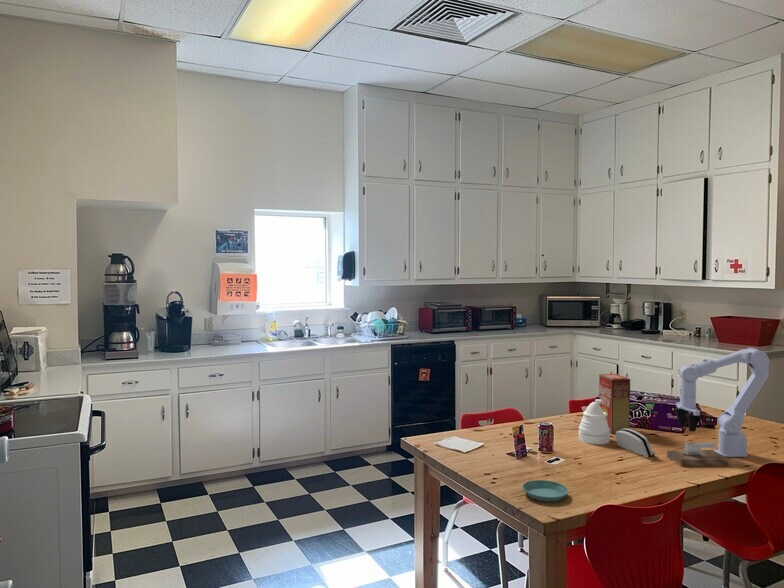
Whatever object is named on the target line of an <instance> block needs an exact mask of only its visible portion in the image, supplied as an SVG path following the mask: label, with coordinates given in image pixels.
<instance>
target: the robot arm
mask: <svg viewBox="0 0 784 588" xmlns="http://www.w3.org/2000/svg"><path fill="white" fill-rule="evenodd" d="M736 363H742V364H747V365H748V367H749V369H750V372H751V375H750V376H749V378H748V379H747V381H746V382H745V384H744V385H743V387H742V389H741V390H740V392H739V394H738V395H737V396H736V398H735V400H734V401H733V403H732V405H730V407H728V408H726V409H725V411H724V412H723V413H721V414H719V416H718V417H717V423H718V425H719V427H720V428H719V429H718V449H713V451H714V452H716V453H718V454H720V455H721V456H723V457H725V458H731V457H732V458H734V457H735V458H737V457H738V458H740V457H742V458H743V457H746V458H747V457H748V453H747V452H748V451H747V450H748V439H747V435H746V434H745V433H744V432H742V428H743V423H744V421H745V414H746V412H747V411H748V409H749V407H750V406H751V405H752V402H753V401H754V400H755V398H756V397H757V395H758V393H760V390H761V389H762V387H763V386H764V384H765V383H766V381H767V380H768V378H769V375H770V368H769V367H770V366H769V364H770V363H771V360H770V359H769V356H768V355H767V353H766V352H765V351H763V350H759V349H757V348H755V347H747V348H745V349H739V350H737V351H735V352H732V353H730V354H727V355H724V356H721V357H719V358H717V359H714V360H713V359H710V358H707V359H706V358H703V359H701V361H699V362H696V363H690V365H684V366H682V367H681V368H680V369H679V371H678V375H679V376H680V387H679V388H680V389H679V390H680V391H679V402H678V401H676V403H675V404H676V405H675V406H676V408H674V409H673V411H674V412H675V414H676V417H677V421H678V425H679V427H686V425H687V423H688V431H689V432H696V430H697V427H698V424H699V422H700V420H701V419H702V417H703V414H701V411H700V410H699V409H698V408H697V405H696V403H697V399H696V398H697V380H698V379H700V378H702V377H705V376H708V375H711V374H715V373H716V372H717V370H718V369H719V368H723V367H726V366H729V365H734V364H736Z"/></svg>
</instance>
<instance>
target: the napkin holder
mask: <svg viewBox="0 0 784 588" xmlns="http://www.w3.org/2000/svg"><path fill="white" fill-rule="evenodd" d="M614 435H615V439H616V443H617V447H619V446H620V448H622V447H623V448H622V449H624V448H625V450H626V449H628V450H627V451H629V450H630V451H629V452H631V451H633V452H632V453H634V452H635V453H634V454H636V453H638V454H640V455H639V456H641V455H643V456H645V457H647V456H653V455H656V451H653V450H652V447H651V445H650V442H649V439H648V438H647V437H646V436H645V435H643V434H642V433H640V432H639V431H636V430H634V429H631V428H630V429H620V431H617V432H616V433H615V434H614ZM638 454H637V455H638ZM643 456H642V457H643ZM645 457H644V458H645Z"/></svg>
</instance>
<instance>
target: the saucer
mask: <svg viewBox="0 0 784 588" xmlns="http://www.w3.org/2000/svg"><path fill="white" fill-rule="evenodd" d="M521 487H522V488H523V489H522V490H523V491H524V492H525V493H526V495H527V496H529V498H531V499H533V500H535V499H536V501H540V502H544V501H545V502H547V503H553V502H557V501H558V502H559V501H561V500H563V498H565V497H566V495H567V494H568V492H569V489H568V488H567V487H566V486H565V485H564V484H561V483H558V482H556V481H552V480H543V479H541V480H540V479H535V480H534V479H533V480H529V481H526V482H524V483H523V484H522V486H521Z"/></svg>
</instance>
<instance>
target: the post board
mask: <svg viewBox="0 0 784 588" xmlns="http://www.w3.org/2000/svg"><path fill="white" fill-rule="evenodd" d="M666 457H667V458H668V457H669V458H671V459H672V460H674V461H675V462H674V461H673V462H674V463H676V464H677V463H678V464H677V465H679V464H680V465H681V466H680V465H679V466H680V467H725V466H726V467H728V466H729V459H728V457H724V456H722V455H721V454H719V453H717V452H715V451H714V450H713V449H700V456H685V449H684V450H682V449H681V450H678V449H677V450H666ZM669 458H668V459H669ZM671 459H670V460H671ZM672 460H671V461H672Z"/></svg>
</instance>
